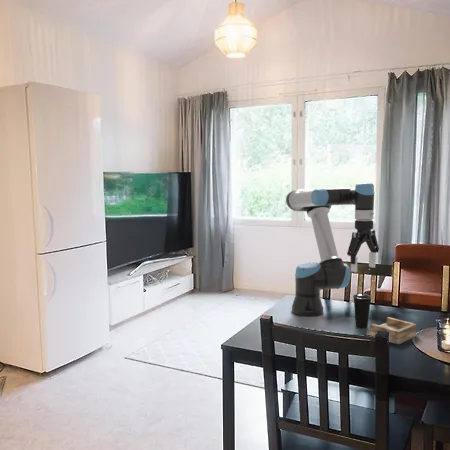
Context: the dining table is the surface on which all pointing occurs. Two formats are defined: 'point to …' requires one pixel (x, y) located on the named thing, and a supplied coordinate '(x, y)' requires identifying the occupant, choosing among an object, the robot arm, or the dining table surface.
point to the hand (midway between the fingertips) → (363, 269)
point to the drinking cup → (361, 309)
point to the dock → (395, 330)
